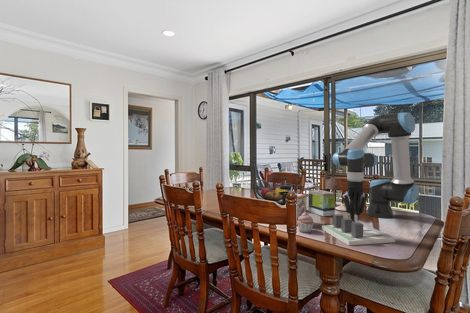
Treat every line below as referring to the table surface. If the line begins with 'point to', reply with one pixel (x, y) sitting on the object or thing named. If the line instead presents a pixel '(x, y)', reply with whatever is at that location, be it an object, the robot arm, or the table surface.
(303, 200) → the candy bar box
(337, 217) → the block
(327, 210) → the tea box
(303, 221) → the cupcake
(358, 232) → the block
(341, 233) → the panel
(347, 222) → the block
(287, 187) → the french press
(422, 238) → the table surface
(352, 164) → the robot arm
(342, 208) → the teacup with lid
